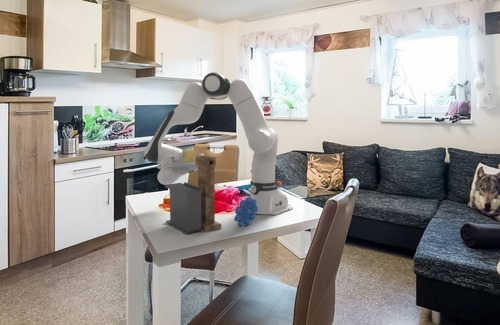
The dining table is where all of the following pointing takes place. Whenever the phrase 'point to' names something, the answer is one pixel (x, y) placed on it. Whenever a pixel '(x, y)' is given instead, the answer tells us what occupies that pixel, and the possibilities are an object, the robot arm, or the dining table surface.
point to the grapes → (246, 211)
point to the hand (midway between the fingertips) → (190, 154)
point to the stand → (207, 192)
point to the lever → (244, 187)
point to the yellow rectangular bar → (189, 155)
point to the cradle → (185, 207)
